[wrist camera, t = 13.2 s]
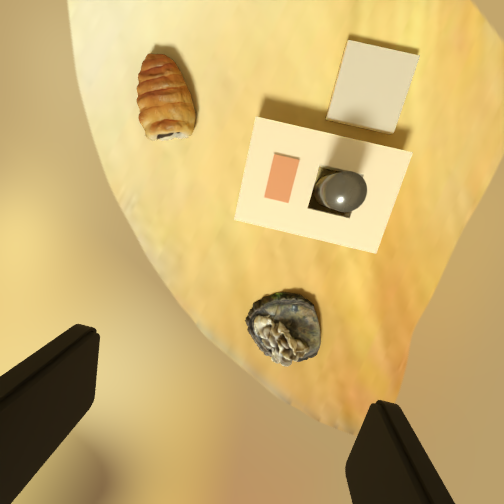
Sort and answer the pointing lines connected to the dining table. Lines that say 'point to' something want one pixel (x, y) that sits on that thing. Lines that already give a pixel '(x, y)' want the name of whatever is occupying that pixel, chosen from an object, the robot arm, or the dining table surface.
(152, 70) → the pastry
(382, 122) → the pad
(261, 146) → the board
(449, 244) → the dining table surface
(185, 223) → the dining table surface
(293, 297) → the grey rounded lumpy piece
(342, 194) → the peg
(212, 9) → the dining table surface
